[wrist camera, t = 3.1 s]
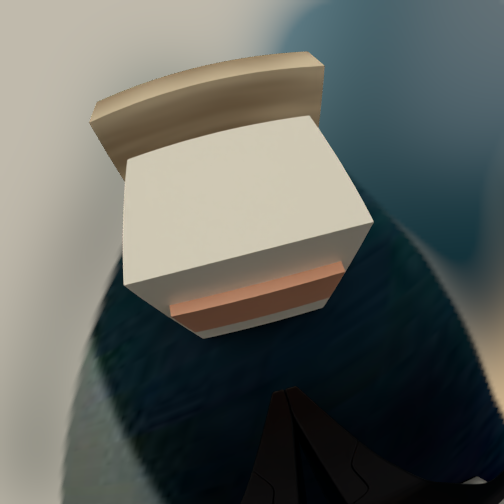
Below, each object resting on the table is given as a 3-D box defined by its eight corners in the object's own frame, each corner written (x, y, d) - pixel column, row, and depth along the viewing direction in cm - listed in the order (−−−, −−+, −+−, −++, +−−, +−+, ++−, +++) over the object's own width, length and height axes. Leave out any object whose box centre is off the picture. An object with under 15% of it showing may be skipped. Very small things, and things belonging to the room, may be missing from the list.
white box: (325, 314, 15) (379, 233, 7) (204, 345, 15) (125, 299, 7) (296, 233, 17) (309, 115, 9) (189, 260, 17) (127, 159, 9)
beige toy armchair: (338, 275, 17) (400, 147, 7) (173, 317, 17) (61, 230, 7) (297, 178, 21) (303, 48, 11) (161, 212, 21) (98, 97, 11)
